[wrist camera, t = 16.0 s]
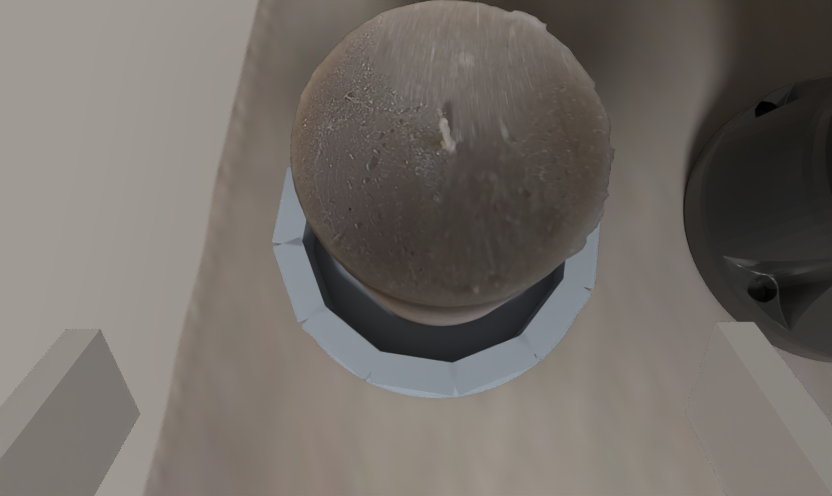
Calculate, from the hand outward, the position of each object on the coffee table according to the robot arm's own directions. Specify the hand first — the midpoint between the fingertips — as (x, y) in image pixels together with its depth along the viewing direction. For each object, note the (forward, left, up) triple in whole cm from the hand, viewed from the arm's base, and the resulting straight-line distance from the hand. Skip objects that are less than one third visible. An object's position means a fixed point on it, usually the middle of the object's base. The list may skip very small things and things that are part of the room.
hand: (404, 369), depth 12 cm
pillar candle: (0, -7, -17) cm, 18 cm away
